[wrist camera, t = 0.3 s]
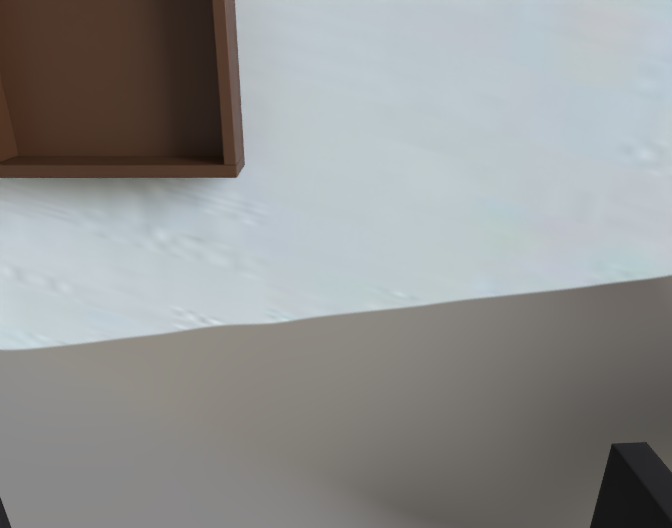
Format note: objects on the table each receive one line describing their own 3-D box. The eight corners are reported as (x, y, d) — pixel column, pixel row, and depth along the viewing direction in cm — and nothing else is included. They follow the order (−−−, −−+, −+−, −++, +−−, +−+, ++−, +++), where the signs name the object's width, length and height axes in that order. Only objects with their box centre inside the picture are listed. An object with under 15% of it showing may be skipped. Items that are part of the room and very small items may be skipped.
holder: (-53, -129, 29) (-103, -153, 26) (227, -123, 30) (215, -145, 26) (16, 165, 36) (-17, 178, 32) (244, 165, 36) (237, 177, 33)
